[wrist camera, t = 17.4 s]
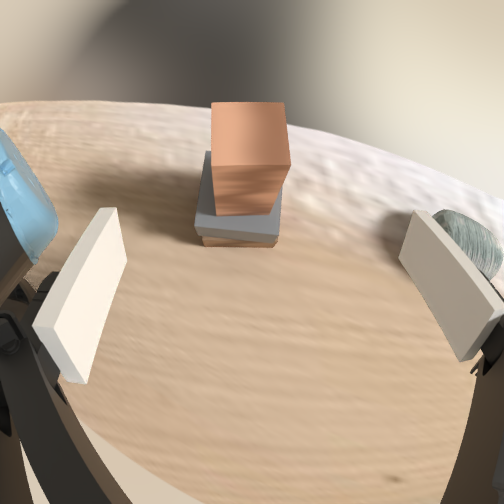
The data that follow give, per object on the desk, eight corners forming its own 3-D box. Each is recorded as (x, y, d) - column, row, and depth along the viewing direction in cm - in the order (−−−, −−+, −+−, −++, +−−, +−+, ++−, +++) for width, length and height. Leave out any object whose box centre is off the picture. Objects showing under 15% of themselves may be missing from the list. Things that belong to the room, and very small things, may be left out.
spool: (407, 270, 35) (473, 230, 28) (404, 217, 41) (456, 177, 34) (460, 313, 39) (516, 285, 31) (454, 262, 44) (502, 233, 37)
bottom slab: (204, 247, 38) (202, 240, 34) (207, 183, 39) (205, 170, 35) (272, 248, 38) (277, 241, 34) (271, 185, 40) (276, 172, 36)
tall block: (216, 216, 30) (211, 166, 19) (215, 168, 31) (211, 102, 20) (269, 214, 31) (291, 165, 20) (266, 167, 31) (283, 102, 21)
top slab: (197, 235, 34) (194, 226, 30) (207, 166, 35) (205, 150, 31) (272, 243, 34) (278, 235, 30) (278, 174, 36) (284, 159, 32)
